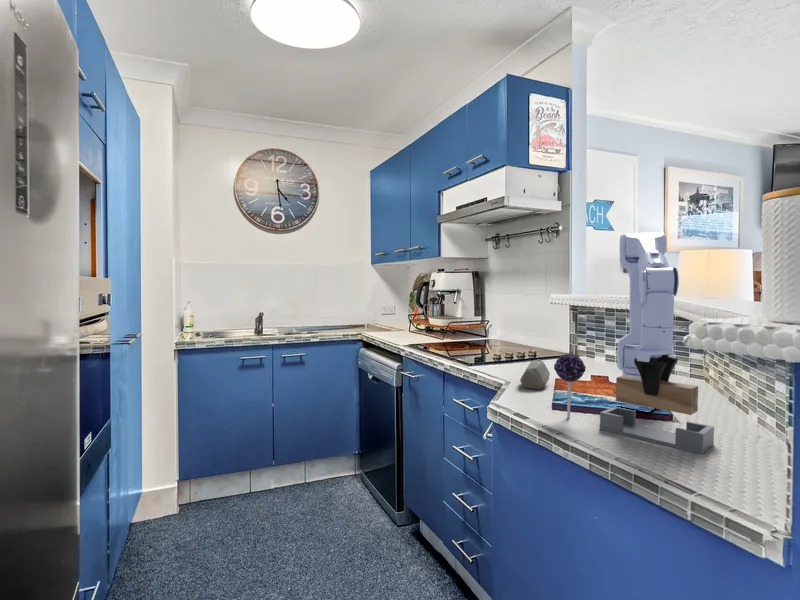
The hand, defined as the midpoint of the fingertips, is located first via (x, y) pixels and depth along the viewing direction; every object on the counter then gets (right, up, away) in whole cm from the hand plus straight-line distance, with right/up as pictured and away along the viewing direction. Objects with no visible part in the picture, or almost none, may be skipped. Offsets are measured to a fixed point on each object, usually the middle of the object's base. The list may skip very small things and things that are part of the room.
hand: (655, 393), depth 93 cm
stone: (-11, -8, +47) cm, 49 cm away
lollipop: (-13, -9, +13) cm, 20 cm away
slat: (0, -3, 0) cm, 3 cm away
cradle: (0, -9, 0) cm, 9 cm away
